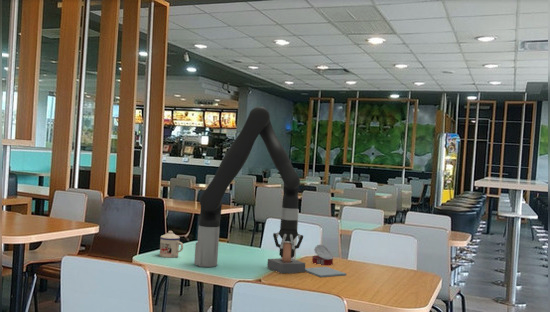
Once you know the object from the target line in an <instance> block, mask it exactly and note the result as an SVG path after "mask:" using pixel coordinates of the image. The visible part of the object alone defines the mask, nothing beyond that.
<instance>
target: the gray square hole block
mask: <svg viewBox="0 0 550 312" xmlns="http://www.w3.org/2000/svg"><path fill="white" fill-rule="evenodd" d="M266 266H267V267H266V268H267V269H269V270H271V271H274V272H276V271H277V272H276V273H278V272H279V273H278V274H281V273H282V274H281V275H284V274H283V273H288V274H299V273H298V272H302V273H305V268H306V263H305V262H303V261H300V260H298V259H296V260H295V259H292V258H291V262H283V261H282V258H281V257H280V258H278V257H277V258H268V259H267V265H266Z"/></svg>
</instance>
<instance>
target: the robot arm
mask: <svg viewBox="0 0 550 312" xmlns="http://www.w3.org/2000/svg"><path fill="white" fill-rule="evenodd" d="M259 136H260V137H261V139H262V141H263V143H264V145H265V147H266V149H267V152H268V154H269V156H270V158H271V160H272V162H273V164H274V167H275V169H276V170H277V171H278V173H279V176H280V178H281V180H282V182H283V196H282V201H281V202H282V204H281V207H282V208H281V211H280V226H279V228H280V229H279V231H278V232H273V234H272V237H273V240H274V244H275V247H276V248H279V256H280V258H281V257H282V255H283V245H284V242H285V241H289V242H291V244H292V252H291V258H293V257H294V254H295V249H296V250H297V249H299V248H300V247H301V244H302V242H303V239H304V235H303V234H301V233H298V230H297V224H298V225H299V214H298V210H299V188H300V187H299V186H300V183H301V180H300V177H299V175H298V173H297V171H296V170H295V168H294V166H293V164H292V162H291V160H290V157H289V156H288V154H287V151H286V150H285V148H284V147H283V146H284V145H282V143H281V141H280V140H279V139H278V138H279V137H278V136H277V135H276V133H275V131H274V128H273V125H272V121H271V115H270V112H269V111H268V109H267V108H265V107H264V106H256V107H254V108H252V109H251V110H250V111H249V114H248V116H247V118H246V121H245V123H244V125H243V126H242V129H241V131H240V132H239V134H238V135H237V136H236V138H235V139H234V141H233V142H232V143H231V145H230V146H229V147H228V149H227V151H226V152H225V155H224V157H223V158H222V160H221V162H220V164H219V166H218V168H217V170H216V172H215V174H214V176H213V178H212V180H211V181H210V182H209V183H208V185H207V187H206V188H205V189H204V191H203V192H202V193H201V195H200V198H199V205H200V211H199V212H200V213H199V218H198V230H197V241H196V242H195V246H194V248H195V249H194V261H193V262H194V263H193V264H194V265H195V266H197V267H201V268H203V267H205V268H213V267H216V266H218V256H219V255H218V254H219V245H220V244H219V242H220V241H219V240H220V225H221V218H222V217H221V216H222V207H223V206H222V205H223V204H222V203H223V197H224V195H225V193H226V192H227V189H228V187H229V185H230V184H231V183H232V182H233V181H234V179H236V177H237V175H238V174H239V173H240V171H241V170H242V168H243V167H244V166H245V164H246V162H247V160H248V158H249V155H250V154H251V152H252V150H253V146H254V144H255V141H256V140H257V138H258V137H259ZM279 237H280V238H281V242H280V243H279V240H278V238H279ZM296 237H297V245H296V246H295V245H294V239H295V238H296Z"/></svg>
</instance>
